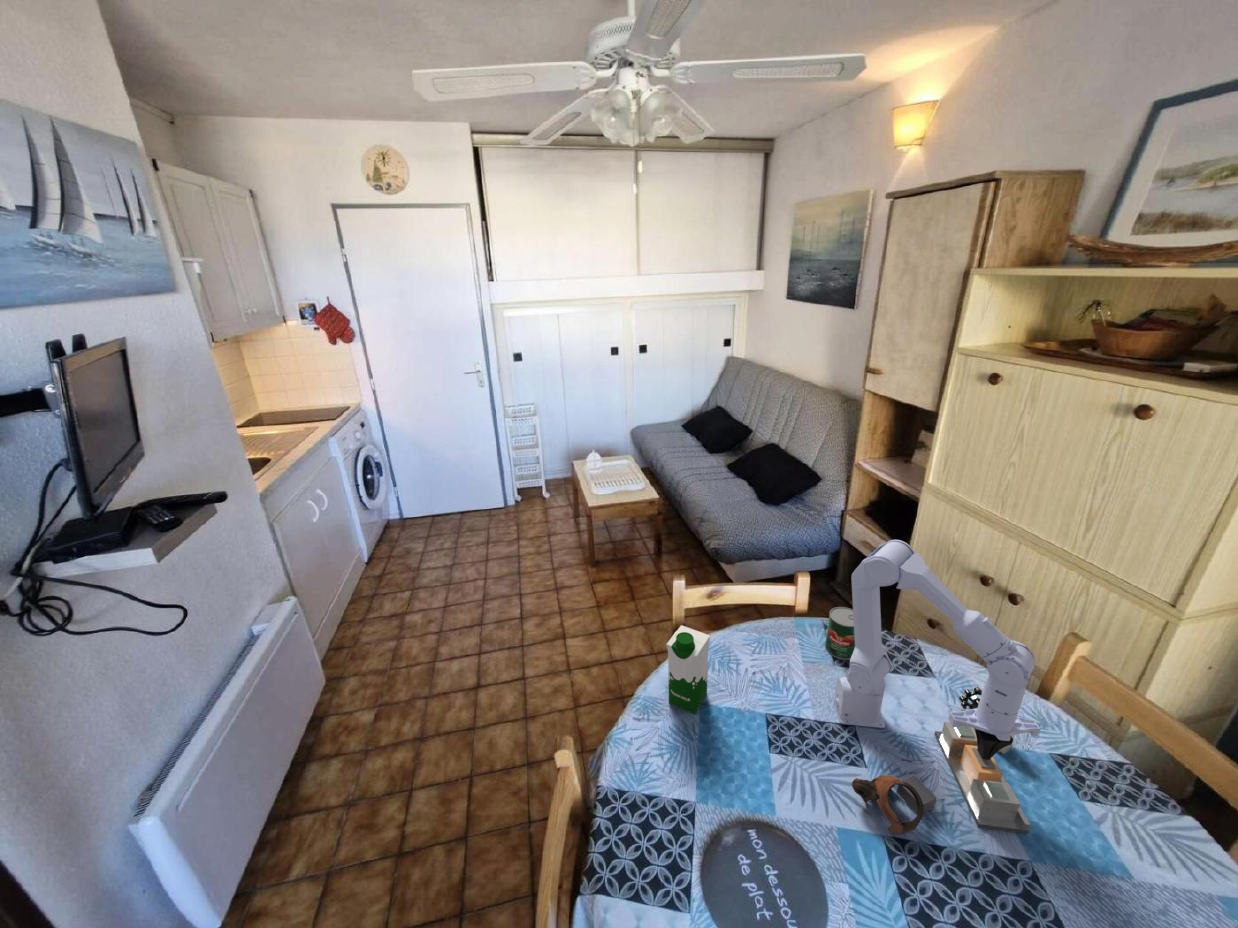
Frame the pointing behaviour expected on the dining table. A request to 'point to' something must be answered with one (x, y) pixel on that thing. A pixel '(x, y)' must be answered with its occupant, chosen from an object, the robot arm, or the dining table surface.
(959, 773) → the rail plate
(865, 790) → the knobbed brown ring
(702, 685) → the milk carton
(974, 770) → the orange module
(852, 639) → the canned tomato
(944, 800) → the dining table surface
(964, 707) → the valve
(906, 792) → the dark gray block
